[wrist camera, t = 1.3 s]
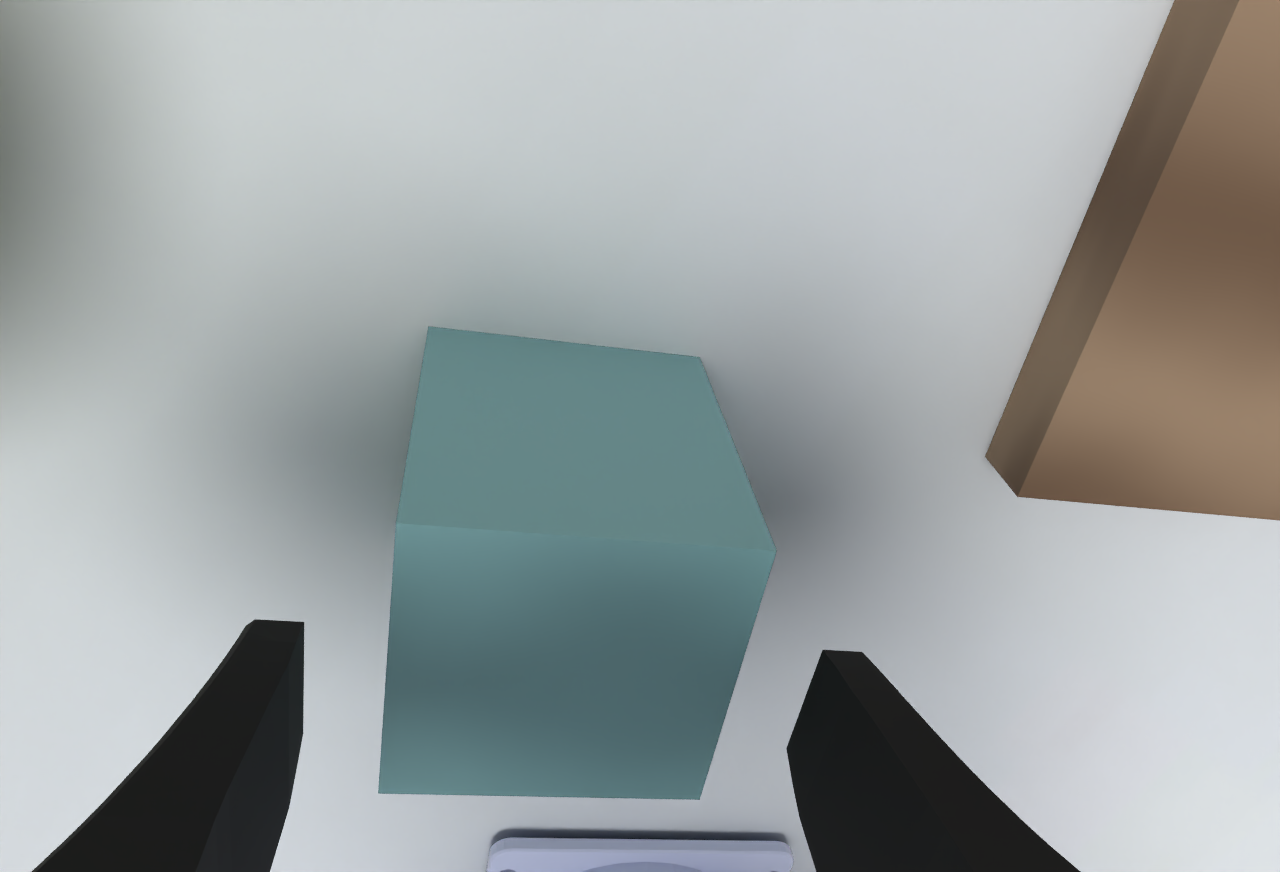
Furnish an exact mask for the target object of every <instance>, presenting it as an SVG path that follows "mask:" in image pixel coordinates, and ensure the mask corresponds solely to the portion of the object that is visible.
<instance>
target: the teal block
mask: <svg viewBox="0 0 1280 872" xmlns="http://www.w3.org/2000/svg"><path fill="white" fill-rule="evenodd" d="M776 552H777V550H776V548H775V545H774V543H773V540H772V538H771V535H770V533H769V530H768V528H767V525H766V523H765V520H764V518H763V515H762V513H761V510H760V508H759V505H758V503H757V500H756V498H755V495H754V493H753V490H752V488H751V485H750V483H749V480H748V478H747V475H746V473H745V470H744V468H743V465H742V462H741V460H740V457H739V455H738V452H737V450H736V447H735V445H734V442H733V440H732V437H731V435H730V432H729V430H728V427H727V425H726V422H725V420H724V417H723V415H722V412H721V410H720V407H719V405H718V402H717V400H716V397H715V395H714V392H713V390H712V387H711V385H710V382H709V380H708V377H707V375H706V372H705V370H704V367H703V365H702V362H701V360H700V357H693V356H684V355H676V354H667V353H658V352H649V351H640V350H632V349H623V348H614V347H605V346H596V345H588V344H579V343H570V342H561V341H552V340H543V339H535V338H526V337H517V336H508V335H499V334H491V333H482V332H473V331H464V330H455V329H447V328H438V327H428V333H427V339H426V345H425V351H424V357H423V363H422V369H421V375H420V381H419V387H418V393H417V399H416V405H415V412H414V418H413V424H412V430H411V436H410V442H409V448H408V454H407V460H406V466H405V472H404V478H403V484H402V490H401V496H400V502H399V508H398V514H397V520H396V531H395V546H394V561H393V576H392V592H391V607H390V622H389V637H388V653H387V668H386V683H385V698H384V714H383V729H382V744H381V759H380V775H379V790H378V793H382V794H434V795H486V796H538V797H591V798H643V799H695V800H700V796H701V793H702V790H703V787H704V784H705V780H706V777H707V774H708V771H709V767H710V764H711V761H712V758H713V755H714V751H715V748H716V745H717V742H718V738H719V735H720V732H721V729H722V726H723V722H724V719H725V716H726V713H727V709H728V706H729V703H730V700H731V697H732V693H733V690H734V687H735V684H736V680H737V677H738V674H739V671H740V668H741V664H742V661H743V658H744V655H745V651H746V648H747V645H748V642H749V639H750V635H751V632H752V629H753V626H754V622H755V619H756V616H757V613H758V610H759V606H760V603H761V600H762V597H763V594H764V590H765V587H766V584H767V581H768V577H769V574H770V571H771V568H772V565H773V561H774V558H775V555H776Z"/></svg>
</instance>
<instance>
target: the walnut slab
mask: <svg viewBox="0 0 1280 872" xmlns="http://www.w3.org/2000/svg"><path fill="white" fill-rule="evenodd" d="M985 457H986V458H987V460H988V461H989V462H990V463H991V465H992V466H993V467H994V468H995V470H996V471H997V472H998V473H999V474H1000V476H1001V477H1002V478H1003V479H1004V481H1005V482H1006V483H1007V484H1008V486H1009V487H1010V488H1011V489H1012V491H1013V492H1014V493H1015V494H1016V495H1017V497H1026V498H1037V499H1048V500H1060V501H1071V502H1082V503H1093V504H1104V505H1115V506H1126V507H1137V508H1148V509H1160V510H1171V511H1182V512H1193V513H1204V514H1215V515H1226V516H1237V517H1249V518H1260V519H1271V520H1280V0H1175V1H1174V3H1173V5H1172V8H1171V10H1170V13H1169V15H1168V17H1167V20H1166V22H1165V25H1164V27H1163V29H1162V32H1161V34H1160V37H1159V39H1158V41H1157V44H1156V46H1155V49H1154V51H1153V54H1152V56H1151V58H1150V61H1149V63H1148V66H1147V68H1146V70H1145V73H1144V75H1143V78H1142V80H1141V82H1140V85H1139V87H1138V90H1137V92H1136V94H1135V97H1134V99H1133V102H1132V104H1131V107H1130V109H1129V111H1128V114H1127V116H1126V119H1125V121H1124V123H1123V126H1122V128H1121V131H1120V133H1119V135H1118V138H1117V140H1116V143H1115V145H1114V147H1113V150H1112V152H1111V155H1110V157H1109V159H1108V162H1107V164H1106V167H1105V169H1104V172H1103V174H1102V176H1101V179H1100V181H1099V184H1098V186H1097V188H1096V191H1095V193H1094V196H1093V198H1092V200H1091V203H1090V205H1089V208H1088V210H1087V212H1086V215H1085V217H1084V220H1083V222H1082V224H1081V227H1080V229H1079V232H1078V234H1077V237H1076V239H1075V241H1074V244H1073V246H1072V249H1071V251H1070V253H1069V256H1068V258H1067V261H1066V263H1065V265H1064V268H1063V270H1062V273H1061V275H1060V277H1059V280H1058V282H1057V285H1056V287H1055V290H1054V292H1053V294H1052V297H1051V299H1050V302H1049V304H1048V306H1047V309H1046V311H1045V314H1044V316H1043V318H1042V321H1041V323H1040V326H1039V328H1038V330H1037V333H1036V335H1035V338H1034V340H1033V342H1032V345H1031V347H1030V350H1029V352H1028V355H1027V357H1026V359H1025V362H1024V364H1023V367H1022V369H1021V371H1020V374H1019V376H1018V379H1017V381H1016V383H1015V386H1014V388H1013V391H1012V393H1011V395H1010V398H1009V400H1008V403H1007V405H1006V407H1005V410H1004V412H1003V415H1002V417H1001V420H1000V422H999V424H998V427H997V429H996V432H995V434H994V436H993V439H992V441H991V444H990V446H989V448H988V451H987V453H986V456H985Z"/></svg>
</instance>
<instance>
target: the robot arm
mask: <svg viewBox="0 0 1280 872" xmlns="http://www.w3.org/2000/svg"><path fill="white" fill-rule="evenodd" d="M303 688H304V622H292V621H273V620H254V621H252V622H251V623H249V624H248V625H246V627H245V628H244V630H243V631H242V633H241V634H240V636H239V638H238V639H237V641H236V642H235V644H234V645H233V646H232V648H231V649H230V651H229V652H228V654H227V655H226V657H225V658H224V659H223V661H222V662H221V664H220V665H219V666H218V668H217V669H216V670H215V672H214V673H213V674H212V676H211V677H210V678H209V680H208V681H207V682H206V684H205V685H204V686H203V688H202V689H201V690H200V691H199V693H198V694H197V695H196V697H195V698H194V699H193V701H192V702H191V703H190V704H189V705H188V707H187V708H186V709H185V710H184V711H183V713H182V714H181V715H180V716H179V717H178V719H177V720H176V721H175V722H174V724H173V725H172V726H171V727H170V728H169V730H168V731H167V732H166V733H165V734H164V736H163V737H162V738H161V739H160V741H159V742H158V743H157V744H156V745H155V746H154V747H153V749H152V750H151V751H150V752H149V753H148V754H147V755H146V756H145V758H144V759H143V760H142V761H141V762H140V763H139V764H138V765H137V766H136V767H135V768H134V770H133V771H132V772H131V773H130V774H129V775H128V776H127V777H126V778H125V779H124V780H123V781H122V783H121V784H120V785H119V786H118V787H117V788H116V789H115V790H114V791H113V792H112V793H111V795H110V796H109V797H108V798H107V799H106V800H105V801H104V802H103V803H102V804H101V805H100V806H99V807H98V808H97V809H96V810H95V811H94V812H93V813H92V814H91V815H90V816H89V817H88V818H87V819H86V820H85V821H84V822H83V823H82V824H81V825H80V826H79V827H78V828H77V829H76V830H75V831H74V832H73V833H72V834H71V835H70V836H69V837H68V838H67V839H66V840H65V841H64V842H63V843H62V844H61V845H60V846H59V847H57V848H56V849H55V850H54V851H53V852H52V853H51V854H50V855H49V856H48V857H47V858H46V859H45V860H44V861H43V862H42V863H40V864H39V865H38V866H37V867H36V868H35V869H34V870H33V871H32V872H270V869H271V866H272V863H273V859H274V856H275V853H276V849H277V846H278V843H279V839H280V836H281V833H282V829H283V826H284V823H285V819H286V816H287V813H288V809H289V805H290V800H291V795H292V789H293V784H294V779H295V774H296V769H297V763H298V758H299V752H300V747H301V741H302V736H303ZM787 753H788V759H789V765H790V771H791V777H792V782H793V788H794V793H795V798H796V803H797V807H798V812H799V817H800V820H801V824H802V827H803V830H804V834H805V837H806V840H807V843H808V846H809V849H810V852H811V856H812V859H813V862H814V865H815V868H816V871H817V872H1080V871H1079V870H1078V869H1077V868H1075V867H1074V866H1073V865H1072V864H1071V863H1070V862H1068V861H1067V860H1066V859H1065V858H1064V857H1063V856H1061V855H1060V854H1059V853H1058V852H1057V851H1055V850H1054V849H1053V848H1052V847H1051V846H1050V845H1048V844H1047V843H1046V842H1045V841H1044V840H1043V839H1042V838H1041V837H1040V836H1038V835H1037V834H1036V833H1035V832H1034V831H1033V830H1032V829H1031V828H1030V827H1029V826H1027V825H1026V824H1025V823H1024V822H1023V821H1022V820H1021V819H1020V818H1019V817H1018V816H1017V815H1016V814H1015V813H1014V812H1013V811H1012V810H1011V809H1010V808H1009V807H1008V806H1007V805H1006V804H1005V803H1003V802H1002V801H1001V800H1000V799H999V798H998V797H997V796H996V795H995V794H994V793H993V792H992V791H991V790H990V789H989V788H988V787H987V786H986V785H985V784H984V783H983V782H982V781H981V780H980V779H979V778H978V777H977V776H976V775H975V774H974V773H973V772H972V771H971V770H970V769H969V768H968V767H967V765H966V764H965V763H964V762H963V761H962V760H961V759H960V758H959V757H958V756H957V755H956V754H955V753H954V752H953V751H952V750H951V749H950V748H949V746H948V745H947V744H946V743H945V742H944V741H943V740H942V739H941V738H940V737H939V736H938V735H937V734H936V732H935V731H934V730H933V729H932V728H931V727H930V726H929V725H928V724H927V723H926V722H925V720H924V719H923V718H922V717H921V716H920V715H919V714H918V713H917V712H916V710H915V709H914V708H913V707H912V706H911V705H910V704H909V703H908V702H907V701H906V699H905V698H904V697H903V696H902V695H901V694H900V693H899V692H898V690H897V689H896V688H895V687H894V686H893V685H892V684H891V683H890V682H889V680H888V679H887V678H886V677H885V676H884V675H883V674H882V673H881V672H880V671H879V669H878V668H877V667H876V666H875V665H874V664H873V663H872V662H871V661H870V660H869V659H868V658H867V657H866V656H865V655H864V654H863V653H862V652H853V651H834V650H822V653H821V656H820V659H819V661H818V664H817V667H816V670H815V672H814V675H813V678H812V680H811V683H810V686H809V689H808V691H807V694H806V697H805V700H804V702H803V705H802V708H801V710H800V713H799V716H798V719H797V721H796V724H795V727H794V730H793V732H792V735H791V738H790V740H789V743H788V746H787ZM793 862H794V858H793V855H792V851H791V848H790V847H789V845H787V844H786V843H784V842H780V841H738V840H661V839H585V838H504V839H501V840H499V841H497V842H496V843H495V844H493V845H492V847H491V849H490V851H489V857H488V864H487V870H486V872H790V871H791V868H792V866H793Z"/></svg>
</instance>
